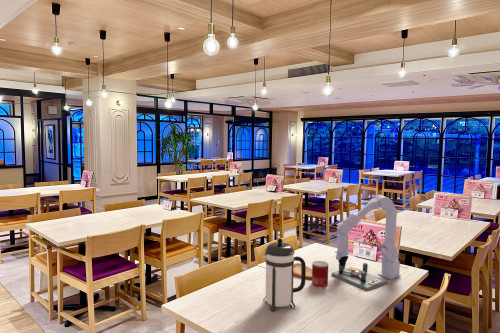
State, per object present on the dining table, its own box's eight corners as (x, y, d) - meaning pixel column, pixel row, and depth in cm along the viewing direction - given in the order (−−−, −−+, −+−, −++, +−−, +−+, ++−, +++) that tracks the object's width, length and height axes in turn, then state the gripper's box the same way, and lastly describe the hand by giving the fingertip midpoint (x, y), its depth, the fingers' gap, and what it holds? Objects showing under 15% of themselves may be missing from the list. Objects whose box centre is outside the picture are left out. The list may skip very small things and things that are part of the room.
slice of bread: (321, 280, 181) (321, 274, 180) (286, 279, 182) (286, 272, 182) (316, 268, 198) (316, 262, 198) (285, 267, 200) (285, 261, 199)
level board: (351, 269, 196) (351, 263, 196) (387, 283, 177) (387, 276, 177) (331, 275, 187) (331, 268, 187) (367, 290, 168) (367, 283, 168)
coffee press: (289, 317, 142) (290, 245, 140) (255, 307, 150) (256, 239, 148) (305, 301, 157) (306, 236, 155) (274, 292, 165) (275, 231, 163)
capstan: (367, 271, 189) (367, 263, 189) (365, 282, 174) (366, 274, 173) (340, 267, 194) (340, 260, 194) (336, 278, 179) (336, 269, 179)
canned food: (328, 288, 171) (328, 266, 170) (311, 286, 172) (312, 265, 172) (327, 282, 178) (328, 261, 177) (312, 280, 180) (312, 260, 179)
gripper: (340, 240, 195) (340, 263, 196) (330, 246, 183) (330, 271, 184) (353, 242, 191) (352, 266, 192) (343, 249, 179) (342, 274, 180)
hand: (342, 269), depth 188 cm, fingers closed
